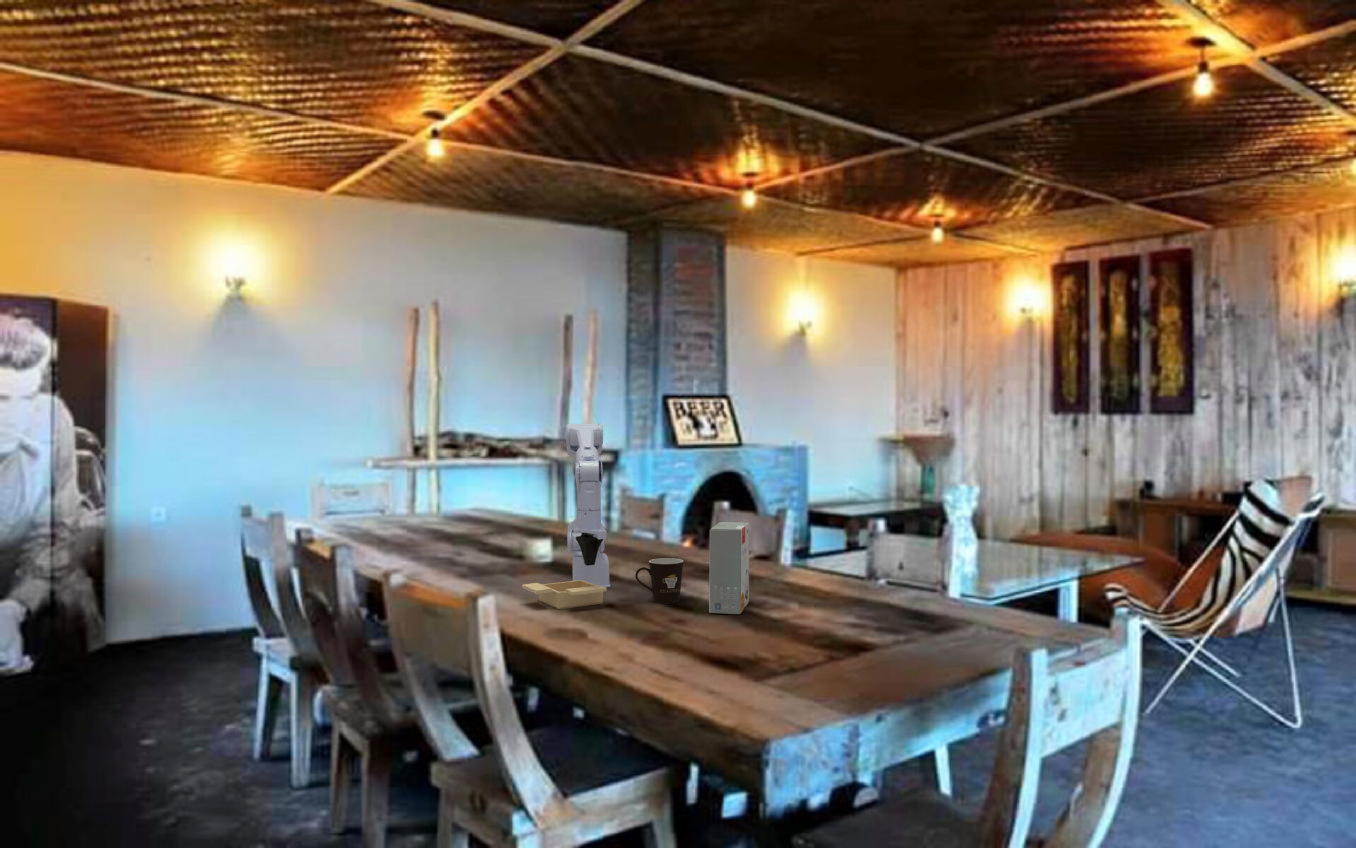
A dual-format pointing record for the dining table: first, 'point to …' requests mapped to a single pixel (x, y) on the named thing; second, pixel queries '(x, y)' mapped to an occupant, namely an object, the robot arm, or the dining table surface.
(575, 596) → the carton
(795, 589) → the dining table surface
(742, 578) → the hard drive box
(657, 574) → the coffee mug
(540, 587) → the flap far
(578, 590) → the flap left
